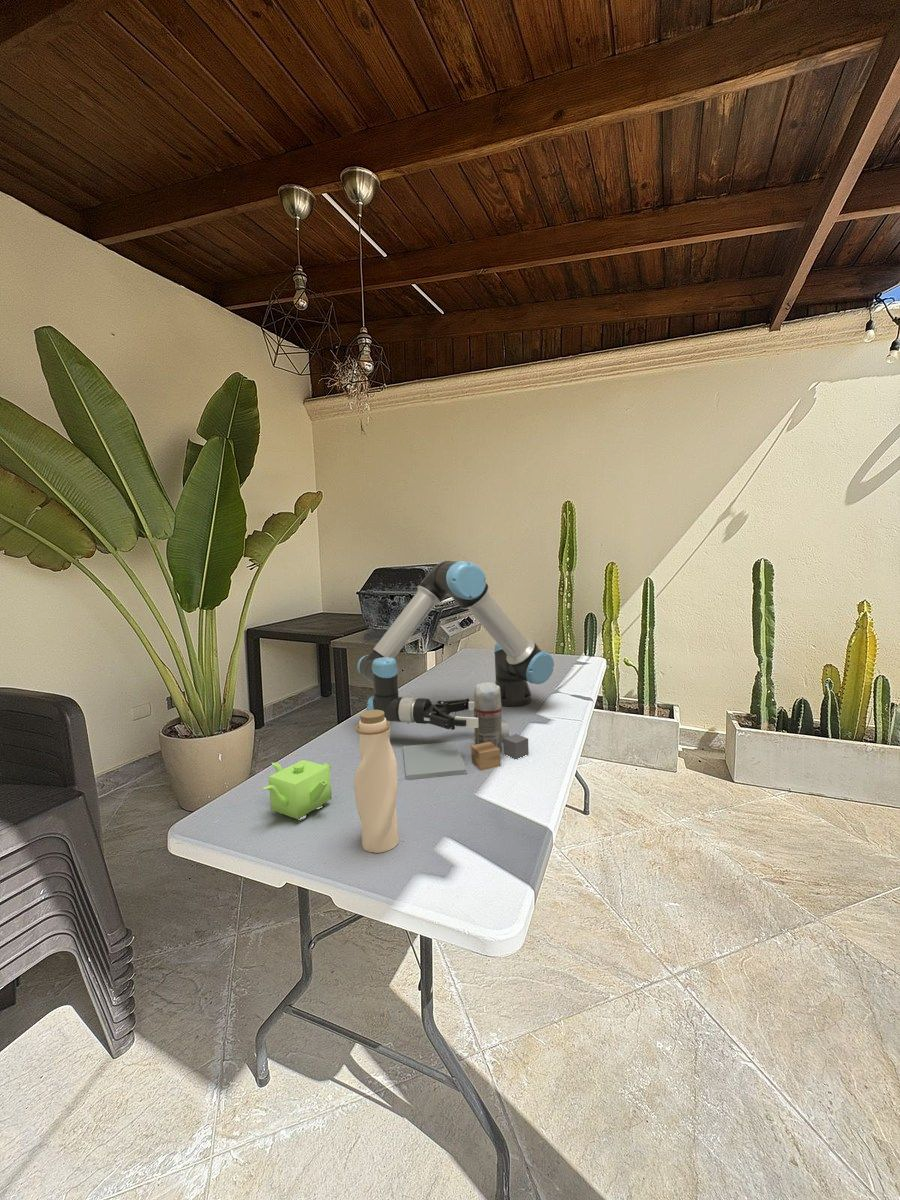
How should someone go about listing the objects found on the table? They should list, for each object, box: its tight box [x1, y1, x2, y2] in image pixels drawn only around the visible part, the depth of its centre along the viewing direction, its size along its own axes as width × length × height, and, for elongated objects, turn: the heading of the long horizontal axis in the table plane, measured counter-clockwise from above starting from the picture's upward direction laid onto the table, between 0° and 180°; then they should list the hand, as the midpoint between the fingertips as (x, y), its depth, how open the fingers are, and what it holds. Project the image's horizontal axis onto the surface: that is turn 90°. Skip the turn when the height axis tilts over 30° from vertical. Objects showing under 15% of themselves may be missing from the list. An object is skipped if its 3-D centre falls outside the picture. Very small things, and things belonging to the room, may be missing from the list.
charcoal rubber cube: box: [502, 733, 530, 760], centre depth 153 cm, size 5×5×5 cm
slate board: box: [402, 741, 467, 781], centre depth 151 cm, size 20×16×1 cm
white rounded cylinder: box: [501, 719, 510, 743], centre depth 165 cm, size 6×6×5 cm
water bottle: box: [353, 710, 400, 854], centre depth 111 cm, size 10×9×28 cm
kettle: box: [262, 759, 333, 820], centre depth 126 cm, size 15×14×11 cm
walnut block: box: [470, 742, 502, 771], centre depth 147 cm, size 6×6×5 cm
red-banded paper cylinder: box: [473, 681, 503, 752], centre depth 156 cm, size 8×8×20 cm
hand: (484, 714), depth 156 cm, fingers open, 13 cm apart
